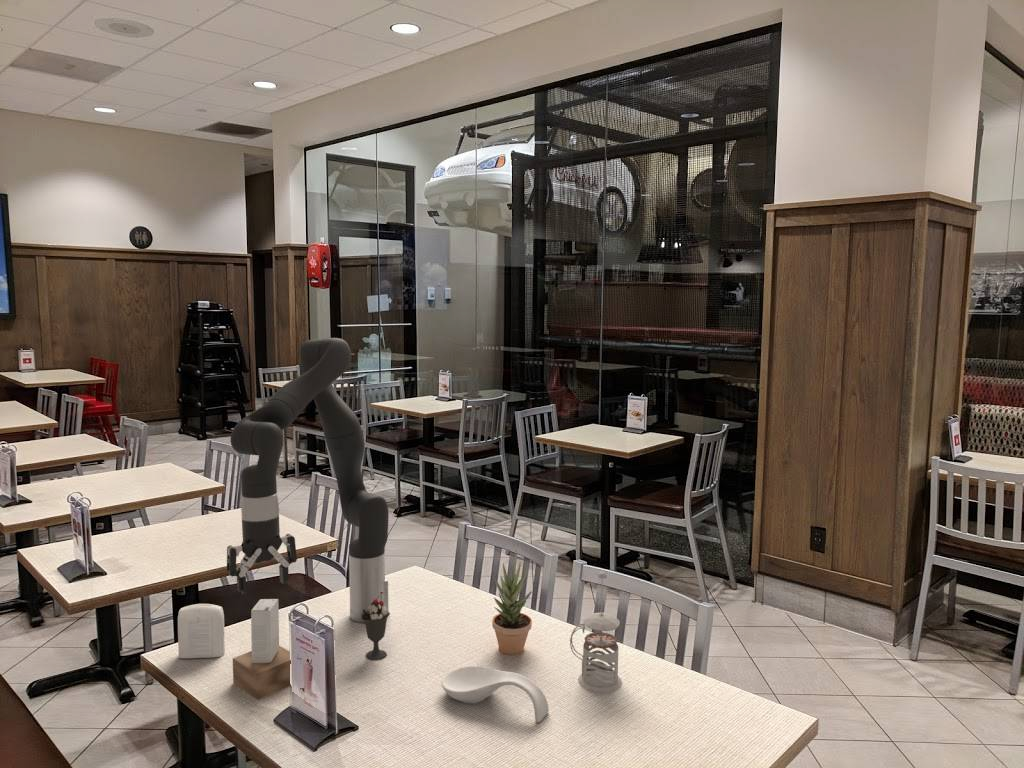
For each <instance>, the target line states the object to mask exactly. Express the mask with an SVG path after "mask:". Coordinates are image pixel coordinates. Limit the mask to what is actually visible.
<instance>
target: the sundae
mask: <svg viewBox="0 0 1024 768" xmlns="http://www.w3.org/2000/svg"><path fill="white" fill-rule="evenodd" d="M382 593H383V592H380V594H381V596H382ZM378 598H379V597H378ZM378 598H377V599H378ZM377 599H375V600H374V601H373V602H372V603H371V604H369V606H368V607H367V610H366V611H365V609H363V610H362V611H363V613H362V614H361V618H362V620H365V624H364V625H365V631H366V632H365V633H366V636H367V639H368V640H370V641H371V642H372V643H373V649H372V650H369V651H368V652H366V653H365V658H366V659H367V660H369V661H380V660H383V659H385V658H386V657H387V655H388V654H387V652H386V650H384V649H380V647H379V643H380V641H382V639H383V638H384V637H385V633H386V628H387V621H388V620H387V619H388V618H389V617H390V615H391V613H390V612H388V611H387V609H386V607H385V606H383V605H384V602H383V601H382V599H381V601H380V602H378V600H377Z"/></svg>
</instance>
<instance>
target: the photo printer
mask: <svg viewBox="0 0 1024 768" xmlns="http://www.w3.org/2000/svg"><path fill="white" fill-rule="evenodd" d="M177 639H178V640H177V641H178V643H177V644H178V648H177V649H178V658H179V659H204V658H205V659H206V658H220V657H223V656H224V655H225V652H226V649H225V648H226V646H225V645H226V644H225V642H226V641H225V639H226V638H225V614H224V609H223V607H222V606H220V605H216V604H212V603H211V604H210V603H196V604H190V605H186V606H183V607H181V608H180V609H179V611H178V616H177Z"/></svg>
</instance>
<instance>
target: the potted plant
mask: <svg viewBox="0 0 1024 768" xmlns="http://www.w3.org/2000/svg"><path fill="white" fill-rule="evenodd" d="M521 565H522V563H521V561H520V562H519V564H518V567H517V549H515V551H514V560H513V567H512V569H513V570H512V573H511V572H509V574H507V570H506V566H505V563H504V562H503V563H502V572H503V577H502V575H500V583H501V585H500V584H499V582H498V581H497V579H496V578H494V581H495V582H494V583H495V584H496V587H497V590H498V591H499V593H498V597H499V599H500V600H501V601H500V600H498V599H497V598H495V597H493V599H494V601H495V603H496V604H497V606H498V608H497V607H495V606H493V608H494V609H495V610H496V611H497V612H498V614H495V615H494V616H493V617H492V621H491V622H492V623H491V624H492V625H491V626H492V628H493V630H494V632H495V635H496V640H497V644H498V649H499V650H498V651H499V652H500V653H502V654H505V655H510V654H512V655H517V654H518V655H519V654H520V653H522V652H523V651H524V649H525V646H526V642H527V638H528V635H529V632H530V630H531V629H532V625H533V620H532V617H530V616H529V615H528V614H526V613H523V612H521V611H522V609H523V607H524V606H525V604H527V603H526V602H527V600H528V599H529V598H530V596H531V594H532V592H533V591H532V590H531V591H529V593H528V594H526V596H525V597H524V598H521V599H519V600H518V598H519V596H520V593H521V591H522V589H523V585H524V583H525V579H526V576H527V573H528V571H529V568H528V567H527V568H526V570H525V571H524V573H523V575H522V577H521V578H520V573H521ZM516 569H517V570H516ZM508 575H509V577H508ZM519 578H520V580H519Z"/></svg>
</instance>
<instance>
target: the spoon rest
mask: <svg viewBox="0 0 1024 768" xmlns="http://www.w3.org/2000/svg"><path fill="white" fill-rule="evenodd" d="M440 684H441V687H442V689H443V690H444V692H445V693H446V695H448V696H450V698H452V699H454V700H457V701H460V702H462V703H465V704H478V703H480V702H482V701H484V700H485V699H486V698H487V697H490V695H492V694H493V693H494V692H496V691H498V689H500V688H501V687H503V686H509V685H510V686H515V687H517V688H519V689H521V690H522V691H524V692H525V693H526V695H528V697H529V698H530V700H531V703H532V706H533V710H534V719H535V722H536V723H540V722H541V721H542V720H543V719H544V718H545V717H546V716H547V714H548V713H549V710H550V709H549V703H548V700H547V697H546V695H545V694H544V692H543V691H542V690H541V688H540V687H539V686H538V685H537V684H536V683H535V682H534V681H532V680H531V679H529V677H527V676H524V675H523V674H520V673H519V672H518V673H517V672H512V671H503V670H501V669H500V670H499V669H495V668H491V667H487V666H479V665H470V666H462V667H459V668H455V669H454V670H451V671H450V672H449V673H447V674H446V675H445V676H443V678H442V680H441V683H440Z"/></svg>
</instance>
